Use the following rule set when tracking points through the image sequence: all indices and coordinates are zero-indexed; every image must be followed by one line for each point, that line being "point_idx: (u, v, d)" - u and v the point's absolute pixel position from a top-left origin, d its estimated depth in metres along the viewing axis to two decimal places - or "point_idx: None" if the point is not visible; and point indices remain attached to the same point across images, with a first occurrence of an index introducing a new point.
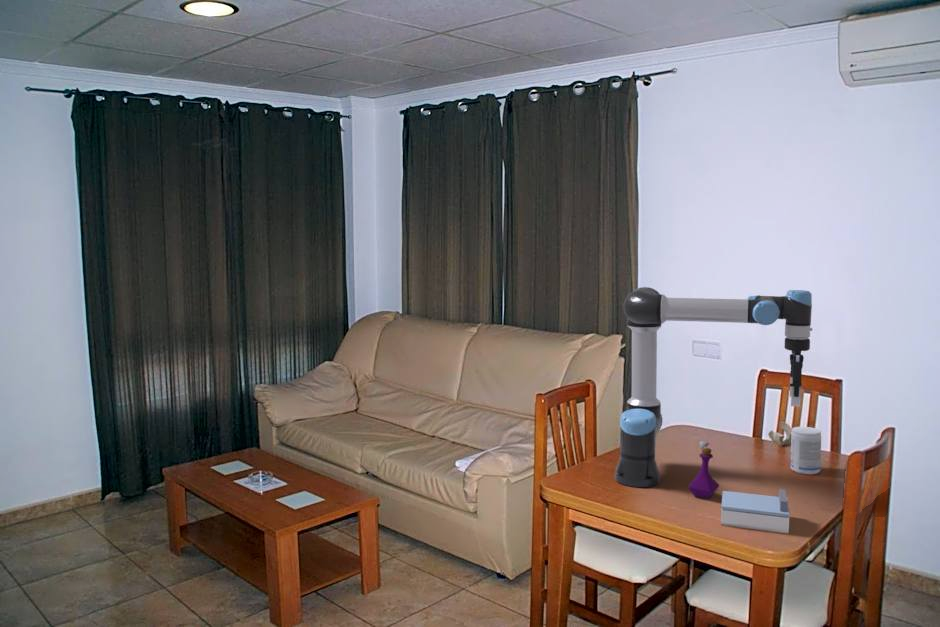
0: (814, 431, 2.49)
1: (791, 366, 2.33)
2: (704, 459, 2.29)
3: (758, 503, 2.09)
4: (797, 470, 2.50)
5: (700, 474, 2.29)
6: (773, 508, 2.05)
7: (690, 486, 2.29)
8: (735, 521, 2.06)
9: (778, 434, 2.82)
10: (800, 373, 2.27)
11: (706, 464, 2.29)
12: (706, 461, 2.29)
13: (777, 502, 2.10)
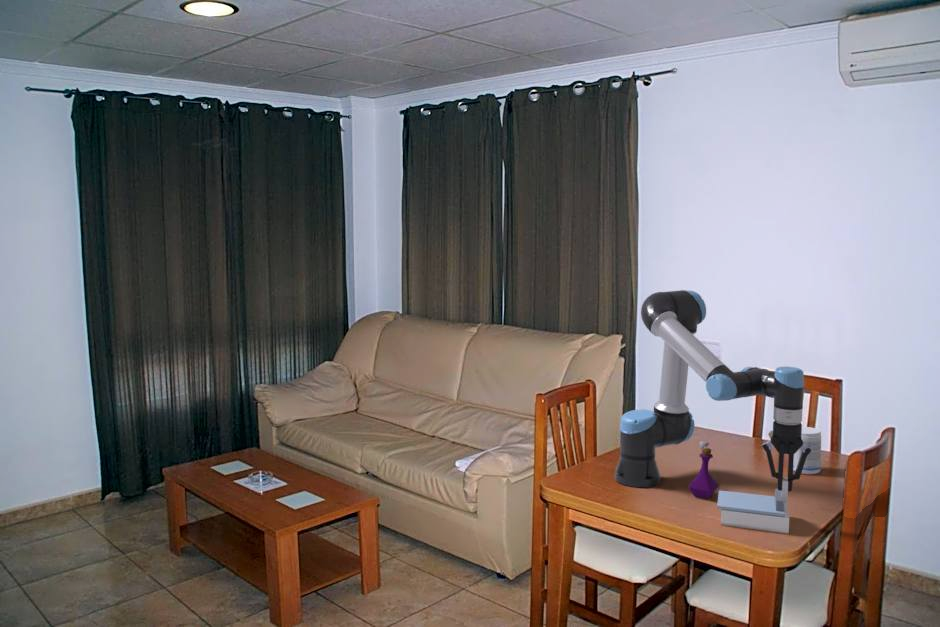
0: (814, 431, 2.49)
1: None
2: (704, 459, 2.29)
3: (754, 502, 2.10)
4: None
5: (700, 474, 2.29)
6: (769, 508, 2.06)
7: (690, 486, 2.29)
8: (735, 521, 2.06)
9: None
10: (769, 464, 2.07)
11: (706, 464, 2.29)
12: (706, 461, 2.29)
13: (773, 502, 2.10)
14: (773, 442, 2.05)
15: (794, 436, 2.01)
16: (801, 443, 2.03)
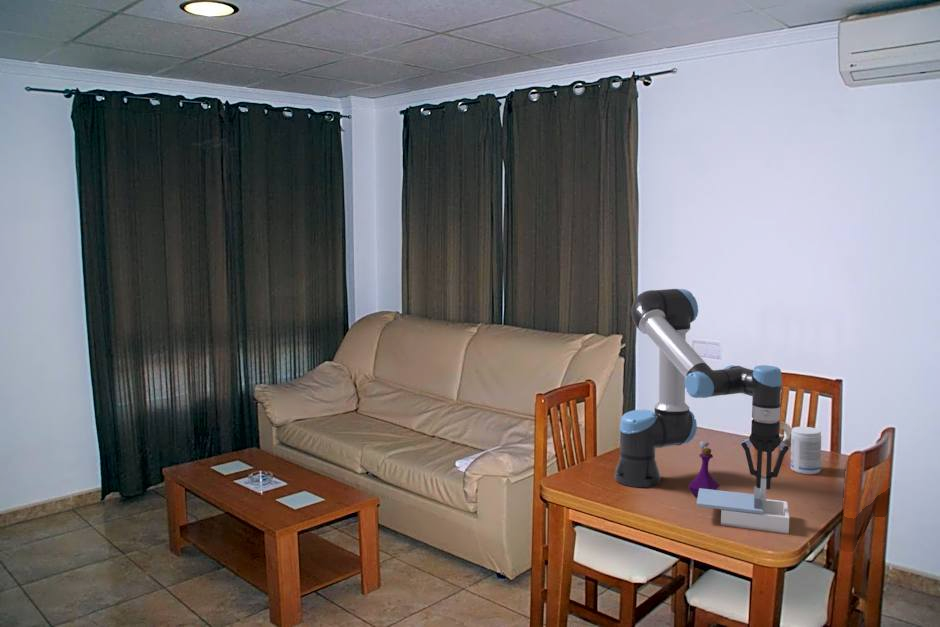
0: (814, 431, 2.49)
1: None
2: (704, 459, 2.29)
3: (733, 500, 2.12)
4: (797, 470, 2.50)
5: (700, 474, 2.29)
6: (747, 505, 2.08)
7: (690, 486, 2.29)
8: (735, 521, 2.06)
9: None
10: (747, 461, 2.09)
11: (706, 464, 2.29)
12: (706, 461, 2.29)
13: (752, 499, 2.12)
14: (751, 440, 2.08)
15: (772, 434, 2.03)
16: (779, 441, 2.05)
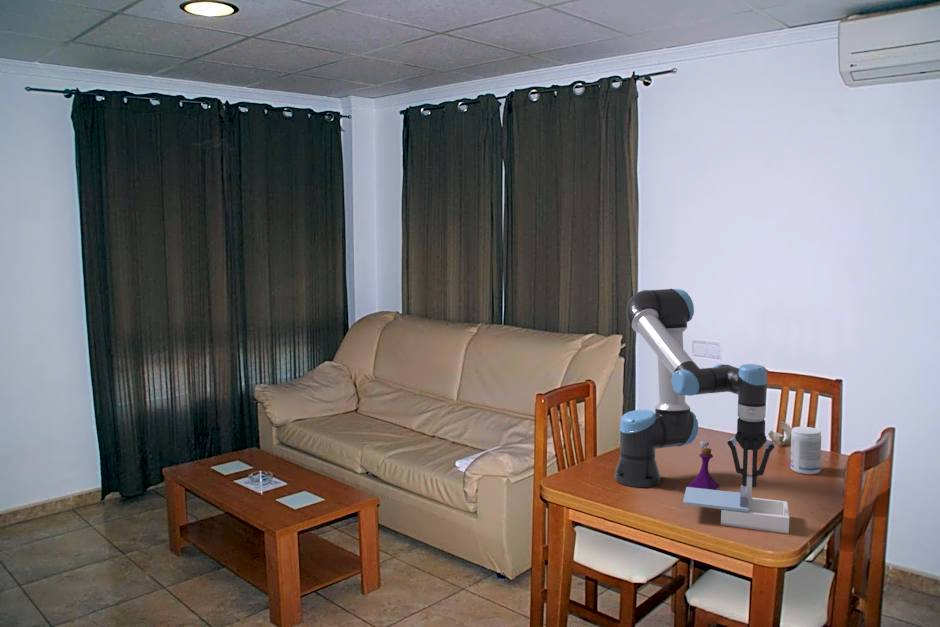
0: (814, 431, 2.49)
1: None
2: (704, 459, 2.29)
3: (719, 498, 2.13)
4: (797, 470, 2.50)
5: (700, 474, 2.29)
6: (733, 503, 2.09)
7: (690, 486, 2.29)
8: (735, 521, 2.06)
9: (778, 434, 2.82)
10: None
11: (706, 464, 2.29)
12: (706, 461, 2.29)
13: (738, 498, 2.13)
14: (737, 438, 2.09)
15: (757, 432, 2.05)
16: (764, 439, 2.06)
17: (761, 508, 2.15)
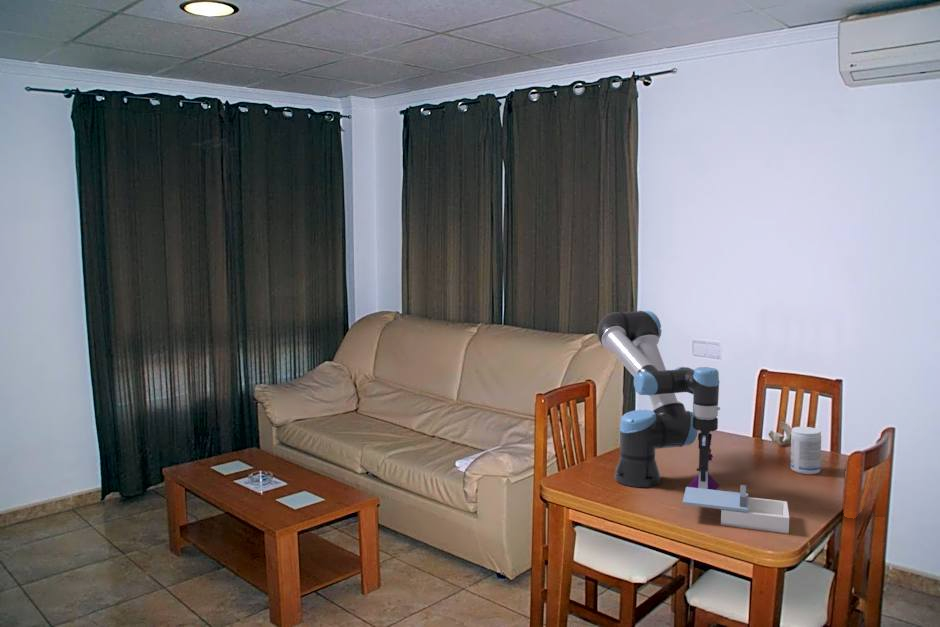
0: (814, 431, 2.49)
1: None
2: None
3: (719, 498, 2.13)
4: (797, 470, 2.50)
5: None
6: (733, 503, 2.09)
7: (690, 486, 2.29)
8: (735, 521, 2.06)
9: (778, 434, 2.82)
10: (706, 458, 2.22)
11: None
12: None
13: (738, 498, 2.13)
14: (707, 438, 2.25)
15: None
16: None
17: (761, 508, 2.15)
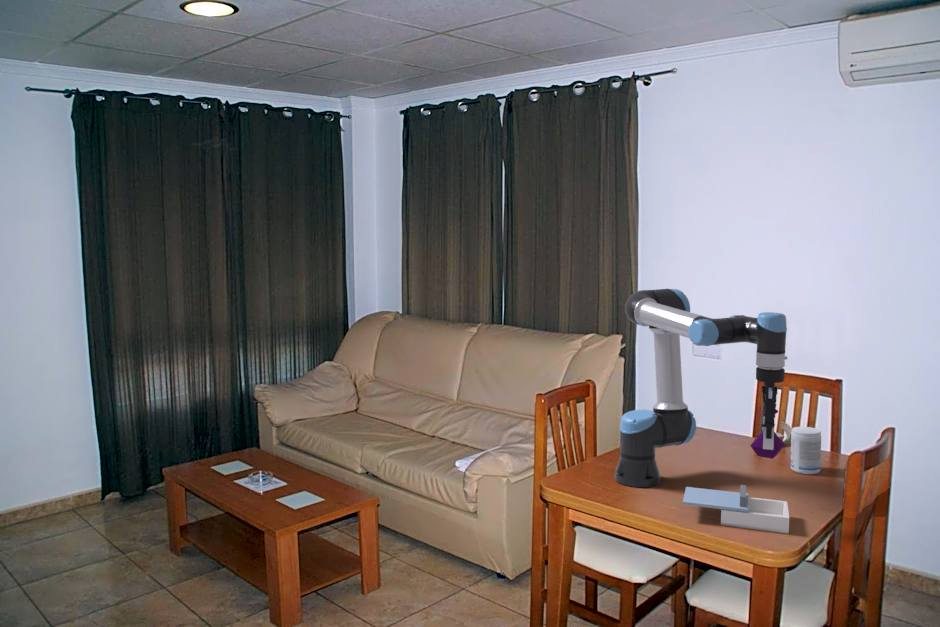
0: (814, 431, 2.49)
1: (763, 401, 2.03)
2: None
3: (719, 498, 2.13)
4: (797, 470, 2.50)
5: None
6: (733, 503, 2.09)
7: (753, 445, 2.06)
8: (735, 521, 2.06)
9: (778, 434, 2.82)
10: (773, 412, 1.99)
11: None
12: None
13: (738, 498, 2.13)
14: (774, 391, 2.01)
15: None
16: None
17: (761, 508, 2.15)
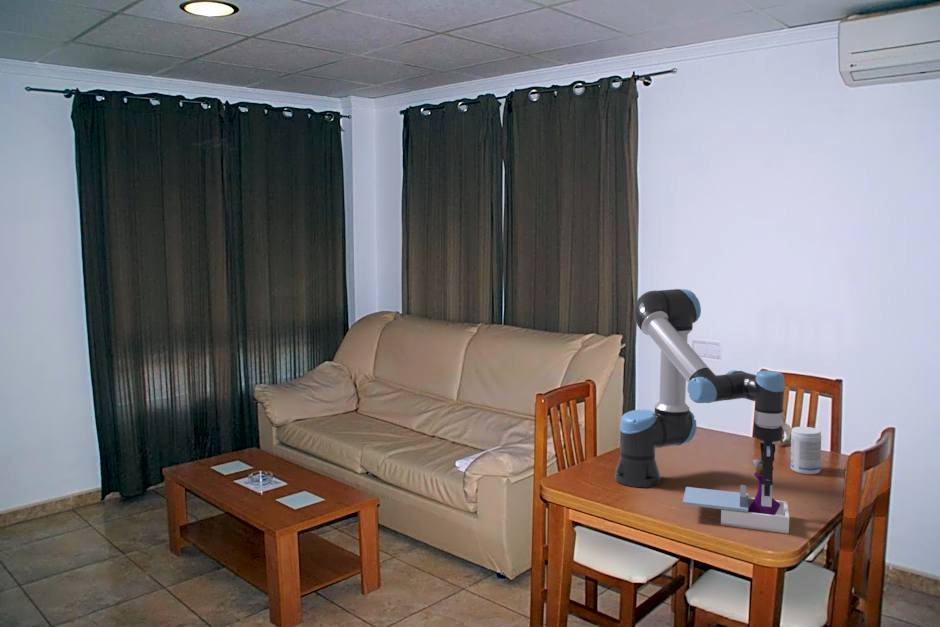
0: (814, 431, 2.49)
1: (761, 459, 2.05)
2: (760, 478, 2.09)
3: (719, 498, 2.13)
4: (797, 470, 2.50)
5: (758, 495, 2.08)
6: (733, 503, 2.09)
7: (749, 510, 2.08)
8: (735, 521, 2.06)
9: None
10: (771, 470, 2.00)
11: None
12: None
13: (738, 498, 2.13)
14: None
15: None
16: None
17: None
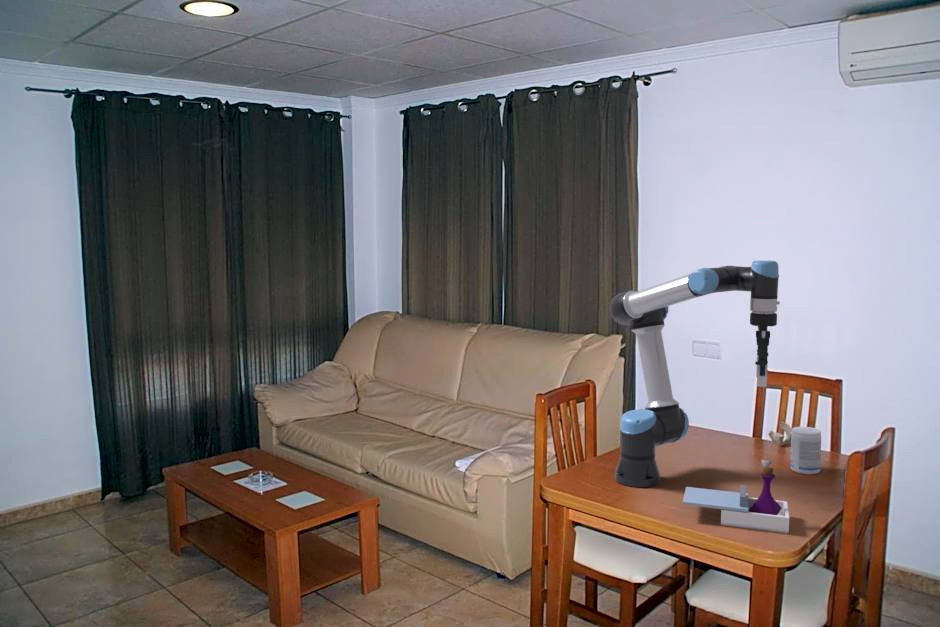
0: (814, 431, 2.49)
1: (757, 343, 2.14)
2: (766, 479, 2.08)
3: (719, 498, 2.13)
4: (797, 470, 2.50)
5: (762, 496, 2.08)
6: (733, 503, 2.09)
7: (751, 510, 2.08)
8: (735, 521, 2.06)
9: (778, 434, 2.82)
10: (766, 350, 2.09)
11: (768, 485, 2.08)
12: (768, 482, 2.08)
13: (738, 498, 2.13)
14: None
15: None
16: None
17: None
